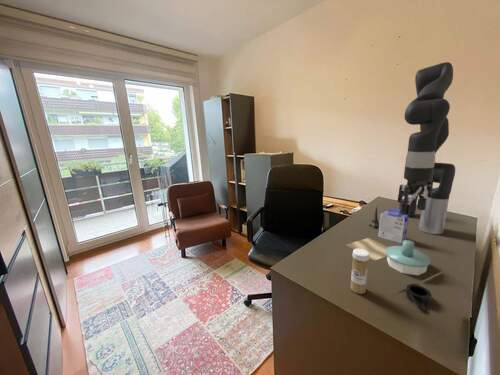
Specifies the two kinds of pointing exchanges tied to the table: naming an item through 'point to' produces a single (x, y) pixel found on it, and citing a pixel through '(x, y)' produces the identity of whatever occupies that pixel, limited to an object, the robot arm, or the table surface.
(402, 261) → the lid
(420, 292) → the duct tape
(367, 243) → the mat
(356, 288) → the sprinkles bottle
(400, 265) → the bowl
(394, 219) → the ink cartridge box
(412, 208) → the camera lens
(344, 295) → the table surface
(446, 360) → the table surface
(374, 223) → the eiffel tower figurine
